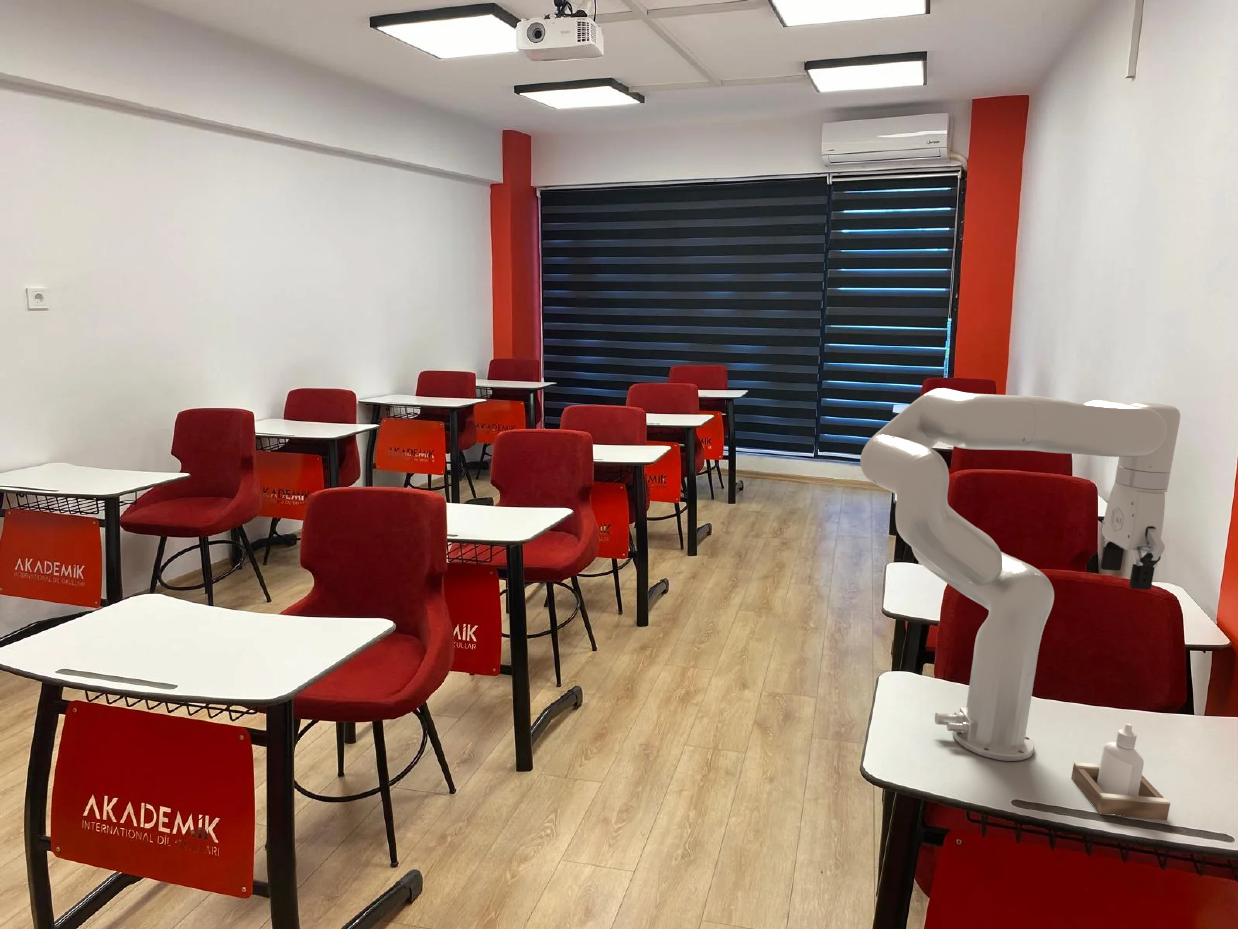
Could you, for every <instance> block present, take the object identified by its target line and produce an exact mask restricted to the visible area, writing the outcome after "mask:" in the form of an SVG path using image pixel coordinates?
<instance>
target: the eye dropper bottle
mask: <svg viewBox="0 0 1238 929" xmlns="http://www.w3.org/2000/svg"><path fill="white" fill-rule="evenodd" d="M1132 728H1133V726H1132V724H1131V723H1127V722H1126V723H1125V726H1124V728H1122V729H1119V730H1117V735H1116V741H1109V742H1106V743H1105V744H1104V746H1103V748H1102V752H1101V753H1102V754H1101V759H1100V763H1099V764H1100V769H1099V775H1098V780H1097V785H1098V786H1099V787H1100V788H1101V789H1102V791H1103V792H1104V793H1106V794H1118V795H1131V796H1139V795H1138V793H1139V788H1140V782H1141V777H1142V775H1143V769H1144V762H1145V761H1144V758H1143V757H1142V756H1141V754H1140V753H1139V752H1138V751H1137V750H1136V748H1135V746H1136V742H1137V734H1136V733H1135V732H1134V731H1133V729H1132Z"/></svg>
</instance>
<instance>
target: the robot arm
mask: <svg viewBox="0 0 1238 929" xmlns="http://www.w3.org/2000/svg"><path fill="white" fill-rule="evenodd" d="M1180 421H1181V412H1180V410H1179V409H1178V408H1177V407H1176V406H1173V405H1169V404H1162V403H1153V402H1135V403H1125V402H1124V403H1123V402H1118V401H1112V400H1108V399H1106V400H1105V399H1094V400H1091V401H1086V402H1085V403H1079V402H1073V401H1069V400H1064V399H1059V398H1053V397H1048V396H1041V395H1023V394H1021V395H1014V394H1013V395H1011V394H1010V395H1009V394H993V393H992V394H988V393H985V394H984V393H973V392H965V391H964V392H963V391H961V390H960V391H959V390H955V389H951V388H945V387H942V388H934V389H931V390H929V391H928V392H926V393H924V394H923V395H921V396H919V397H918V398H917V399H915V400H914V401H913V402H912V403H910V404H909V405H908V406H906V407H905V408H904V409H903V410H902V411H900V412H899V413H897V415H896V416H895V417H893V418H892V419H891V420H890V421H889V422H888V423H886V424H885V425H884V426H883V427H882V428H881V429H880V430H878V431H877V432H876V433H875V434H874V435H873V436H871V437H870V439H869V440H868V441H867V442H866V444H865V445H864V447H863V449H862V451H861V454H860V460H859V462H860V463H859V464H860V468H861V471H862V473H863V475H864V477H866V478H867V480H868V481H869V482H870V483H873V484H874V485H876V486H878V487H880V488H882V489H885V490H887V491H889V492H890V493H893V494H896V504H895V510H894V511H895V513H894V514H895V526H896V530H897V532H898V534H899V536H900V538H901V539H903V541H904V542H905V543H906V544H908V545H909V546H910V547H911V550H912V553H913V555H914V558H915V559H916V560H917V561H918V563H919V564H920V565H921V566H923V567H924V568H925V569H927V570H928V571H930V572H931V573H932V574H933V575H935V576H937V577H938V578H939V579H941V580H942V581H943V582H945V583H946V584H948V585H949V586H950V587H952V588H954V589H955V590H956V591H958V592H959V593H961V595H964V596H965V597H966V598H969V599H970V600H972V601H974V602H975V603H977V604H979V605H981V606H982V607H984V608H985V609H987V610H988V615H987V617H986V619H985V620H984V622H983V623H982V624H981V626H980V627H979V629H978V631H977V634H976V637H975V641H974V648H973V656H972V657H973V658H972V663H971V670H970V679H969V685H968V691H967V692H968V694H967V699H966V707H964V706H962V707H961V706H960V707H959V712H954V713H953V714H950V713H944V712H935V714H934V723H935V724H936V725H937V726H938V725H941V726H946V729H947V731H948V732H949V731H950V732H952V736H953V738H954V739H955V740H956V742H958V744H960V746H962V747H963V748H965V749H966V750H968V751H970V752H972V753H974V754H977V755H979V756H983V757H985V758H990V759H992V760H998V761H1005V762H1017V761H1019V762H1020V761H1023V760H1027V759H1029V758H1030V757H1032V756H1033V754H1034V750H1035V743H1034V741H1033V740H1032V738H1031V737H1030V736H1029V735H1028V734H1027V730H1028V729H1027V727H1028V721H1029V714H1030V708H1031V703H1032V702H1031V701H1032V695H1033V688H1034V681H1035V678H1036V672H1037V671H1036V669H1037V663H1038V655H1039V652H1040V650H1039V649H1040V644H1041V641H1042V635H1043V632H1044V629H1045V625H1046V623H1047V620H1048V618H1049V616H1050V614H1051V611H1052V608H1053V605H1054V601H1055V590H1054V587H1053V585H1052V583H1051V581H1050V579H1049V578H1048V577H1047V576H1046V575H1045V573H1044V572H1042V571H1041V570H1039V569H1038V568H1036V567H1035V566H1033V565H1031V564H1029V563H1027V562H1025V561H1023V560H1020V559H1018V558H1016V557H1015V556H1011V555H1009V554H1006V553H1005V552H1003V551H1001V549H1000V548H999V545H998V544H997V543H996V542H995V540H994V539H993V538H992V537H991V536H990V535H989V534H987V533H986V532H984V531H983V530H981V529H980V528H979V527H976V526H975V525H974V524H972V523H971V522H969V521H968V520H967V519H965V518H964V517H963V516H961V515H960V514H959V513H957V511H955V509H953V508H952V507H951V506H950V505H949V501H948V492H949V486H950V473H949V468H948V465H947V462H946V461H945V459H944V458H943V456H942V455H941V454H940V453H939V452H938V451H936V450H935V449H934V448H933V447H934V446H935V445H936V444H937V443H939V442H940V443H943V444H946V445H950V446H952V447H956V448H959V449H967V450H984V451H985V450H987V451H988V450H989V451H990V450H992V451H993V450H996V451H997V450H999V451H1001V450H1002V451H1004V450H1005V451H1033V452H1034V451H1035V452H1042V453H1054V454H1070V455H1071V454H1073V455H1085V456H1097V457H1098V456H1099V457H1113V458H1118V460H1117V461H1118V462H1117V467H1116V470H1115V472H1116V473H1115V479H1114V482H1113V486H1112V488H1111V491H1110V494H1109V498H1108V501H1107V504H1106V507H1105V512H1104V517H1103V522H1102V528H1101V534H1102V536H1103V537H1104V539H1103V541H1102V545H1103V549H1102V555H1101V560H1100V567H1099V568H1100V569H1101V570H1104V571H1105V570H1106V571H1119V572H1120V570H1121V569H1122V568H1121V567H1122V565H1123V564H1122V563H1123V559H1124V558H1123V557H1124V552H1125V551H1132V550H1133V551H1132V552H1133V555H1134V556H1133V557H1134V561H1135V563H1133V564H1132V567H1131V572H1130V579H1129V585H1128V587H1129V588H1130V589H1133V590H1142V591H1143V590H1145V591H1147V590H1148V591H1149V590H1151V588H1152V584H1153V579H1154V573H1155V568H1157V567H1158V562H1159V561H1160V560H1161V559H1162V557H1161V556H1162V554H1163V553H1164V551H1165V549H1166V547H1165V543H1164V542H1163V540H1162V534H1163V533H1162V532H1163V529H1164V528H1163V527H1164V526H1163V524H1164V518H1165V510H1166V508H1165V506H1166V493H1167V492H1168V490H1169V489H1168V488H1169V482H1170V479H1171V478H1170V477H1171V472H1172V467H1173V466H1172V465H1173V461H1174V455H1175V450H1176V443H1177V438H1178V434H1179V427H1180ZM1142 553H1143V554H1144V553H1145V554H1144V555H1142Z"/></svg>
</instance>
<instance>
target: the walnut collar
mask: <svg viewBox="0 0 1238 929" xmlns="http://www.w3.org/2000/svg"><path fill="white" fill-rule="evenodd" d="M1100 764H1101V763H1092V762H1091V763H1090V762H1089V763H1087V762H1077V761H1075V762H1073V766H1072V771H1071V778H1070V779H1071V780H1072V781H1073V783H1075V785H1076V786H1077V788H1078V789H1079V790H1080V792H1082V794H1083V795H1084V794H1085V795H1084V796H1085V798H1086V799H1087V798H1088V799H1087V800H1088V801H1089V802H1090V804H1091V803H1092V804H1093V805H1092V804H1091V805H1092V807H1094V809H1095V808H1096V809H1097V810H1098V811H1099V812H1098V811H1097V810H1096V809H1095V810H1096V811H1097V812H1098V814H1100V813H1101V814H1100V815H1104V814H1115V815H1114V816H1116V815H1121V816H1120V817H1130V818H1142V819H1153V820H1154V819H1155V820H1166V821H1167V820H1168V817H1169V812H1170V807H1171V801H1170V800H1169V799H1168V798H1165V797H1164V796H1163V795H1162V794H1161V793H1160V792H1159V790H1157V789H1156V788H1155V787H1154V785H1152V784H1151V783H1150V782H1149V780H1147V778H1146V777H1145V776H1143V775H1144V774H1142V777H1141V782H1140V788H1139V793H1138V796H1131V795H1118V794H1106V793H1104V792H1103V791H1102V789H1101V788H1100V787H1099V786H1098V785H1097V780H1098V775H1099V769H1100Z"/></svg>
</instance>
